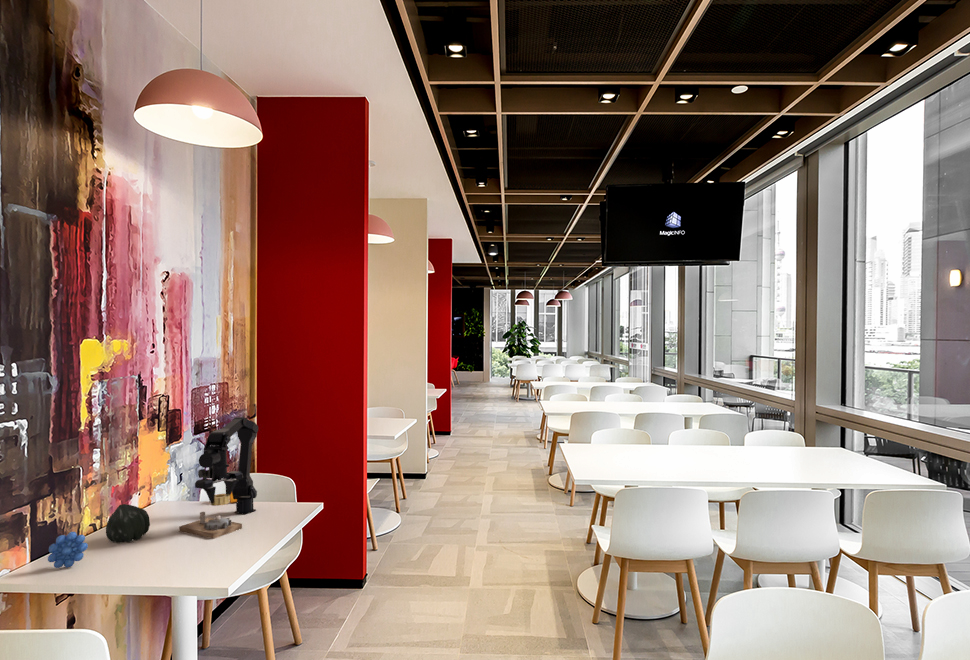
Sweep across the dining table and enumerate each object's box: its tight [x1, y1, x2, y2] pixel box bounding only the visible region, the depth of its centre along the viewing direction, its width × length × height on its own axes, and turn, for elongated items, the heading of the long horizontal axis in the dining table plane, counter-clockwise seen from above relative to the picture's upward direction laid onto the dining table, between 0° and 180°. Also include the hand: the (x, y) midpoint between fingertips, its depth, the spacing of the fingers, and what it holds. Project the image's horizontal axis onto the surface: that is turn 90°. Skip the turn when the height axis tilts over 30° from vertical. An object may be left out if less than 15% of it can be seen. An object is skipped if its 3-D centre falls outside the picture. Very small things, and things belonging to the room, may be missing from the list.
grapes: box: [47, 531, 89, 569], centre depth 196 cm, size 12×7×12 cm, turn 108°
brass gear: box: [210, 493, 231, 507], centre depth 234 cm, size 7×7×3 cm
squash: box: [105, 503, 151, 544], centre depth 222 cm, size 14×15×15 cm
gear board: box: [178, 511, 243, 540], centre depth 231 cm, size 13×21×6 cm, turn 62°
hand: (220, 500), depth 234 cm, fingers closed on brass gear, 7 cm apart
